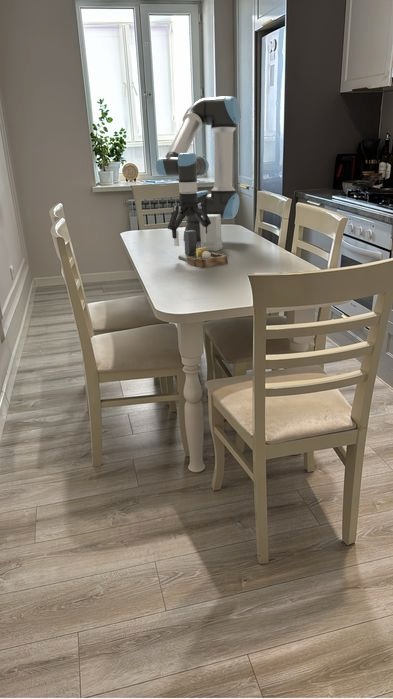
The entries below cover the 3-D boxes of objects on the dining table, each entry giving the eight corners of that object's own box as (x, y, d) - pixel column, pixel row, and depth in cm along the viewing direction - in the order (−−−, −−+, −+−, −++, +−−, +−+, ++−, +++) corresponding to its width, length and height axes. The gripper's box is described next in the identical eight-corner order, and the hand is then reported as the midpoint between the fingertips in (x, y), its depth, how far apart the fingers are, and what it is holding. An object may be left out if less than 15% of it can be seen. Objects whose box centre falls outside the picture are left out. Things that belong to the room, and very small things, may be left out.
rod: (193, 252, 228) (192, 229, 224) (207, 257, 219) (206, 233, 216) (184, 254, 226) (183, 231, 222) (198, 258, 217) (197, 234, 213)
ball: (207, 258, 219) (207, 249, 217) (212, 259, 216) (212, 251, 214) (200, 259, 217) (200, 251, 215) (205, 261, 214) (204, 252, 213)
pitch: (200, 254, 231) (200, 247, 230) (228, 262, 215) (228, 255, 213) (175, 259, 225) (175, 252, 224) (202, 268, 208) (202, 260, 207)
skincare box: (222, 248, 241) (221, 214, 235) (216, 251, 236) (216, 216, 230) (206, 247, 245) (204, 213, 239) (200, 250, 239) (198, 215, 233)
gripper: (208, 189, 225) (209, 238, 233) (157, 194, 212) (160, 246, 220) (218, 190, 219) (219, 241, 227) (166, 195, 206) (169, 249, 215)
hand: (190, 243), depth 224 cm, fingers open, 13 cm apart
